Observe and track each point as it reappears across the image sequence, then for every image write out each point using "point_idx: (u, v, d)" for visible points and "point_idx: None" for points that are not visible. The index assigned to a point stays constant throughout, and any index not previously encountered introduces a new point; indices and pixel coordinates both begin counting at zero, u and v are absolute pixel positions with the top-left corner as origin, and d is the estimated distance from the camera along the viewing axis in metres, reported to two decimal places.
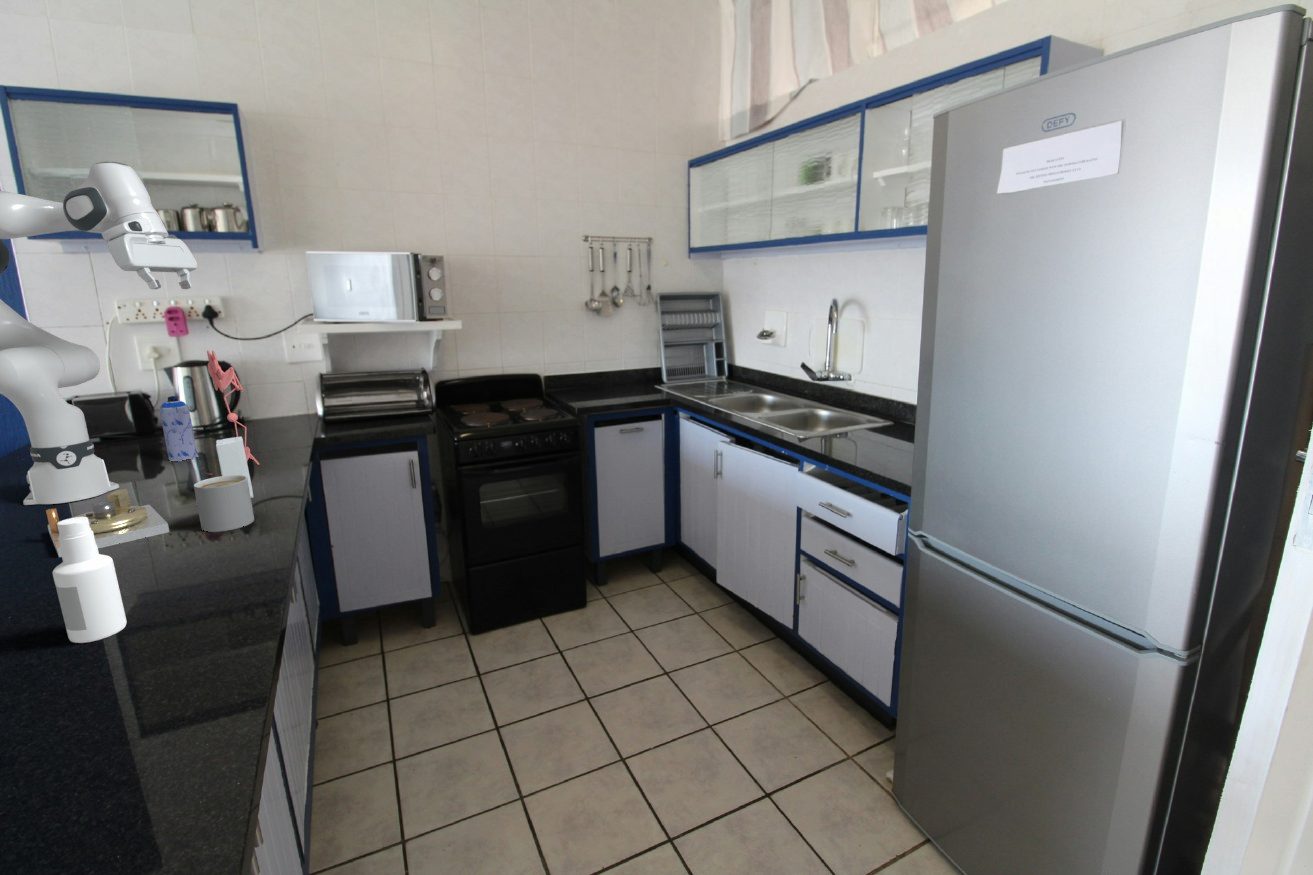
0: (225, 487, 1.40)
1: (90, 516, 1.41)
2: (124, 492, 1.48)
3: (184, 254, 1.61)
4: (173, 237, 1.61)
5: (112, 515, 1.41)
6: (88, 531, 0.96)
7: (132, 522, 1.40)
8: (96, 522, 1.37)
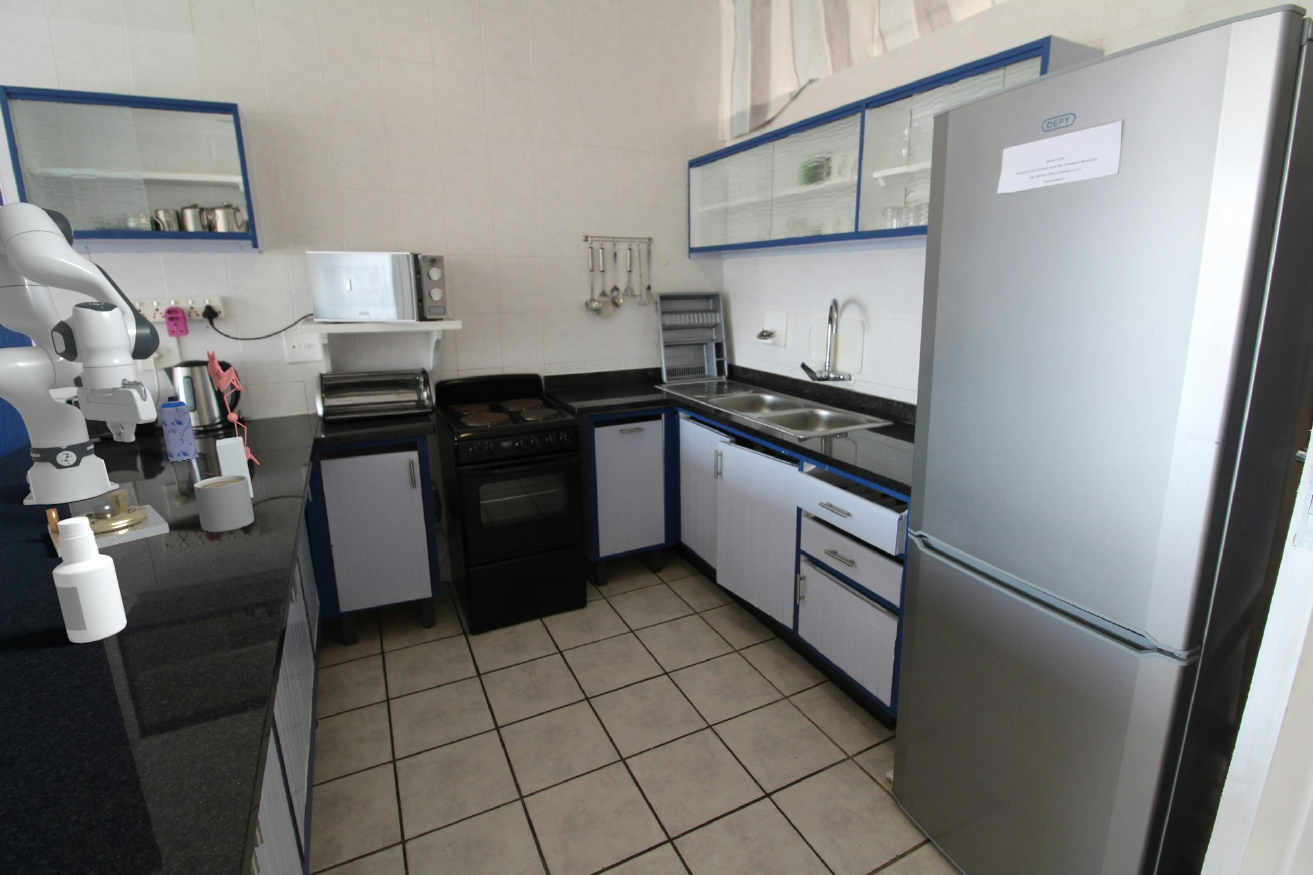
0: (225, 487, 1.40)
1: (90, 516, 1.41)
2: (124, 492, 1.48)
3: (128, 407, 1.38)
4: (133, 384, 1.38)
5: (112, 515, 1.41)
6: (88, 531, 0.96)
7: (132, 522, 1.40)
8: (96, 522, 1.37)
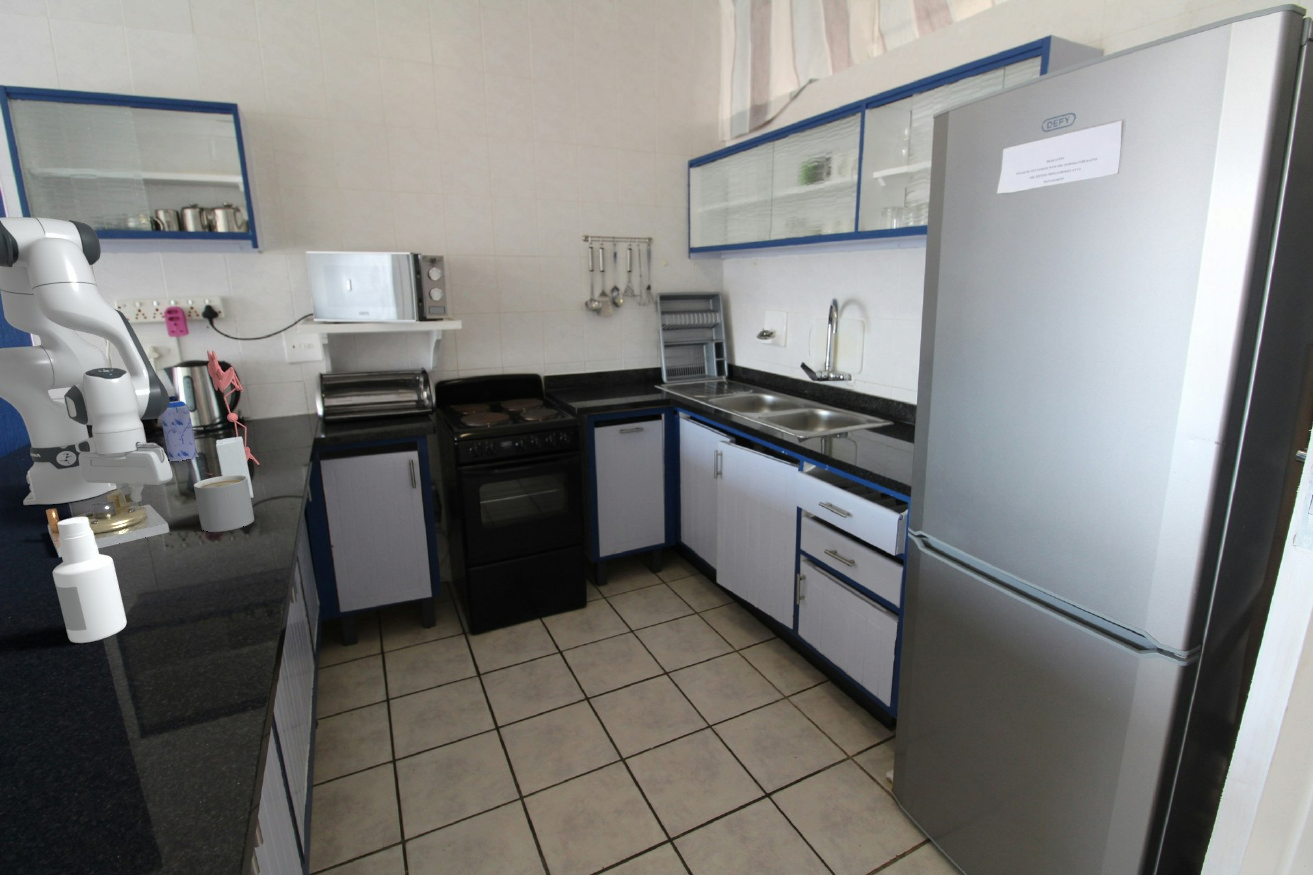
0: (225, 487, 1.40)
1: (90, 516, 1.41)
2: None
3: (145, 470, 1.42)
4: (150, 446, 1.43)
5: (112, 515, 1.41)
6: (88, 531, 0.96)
7: (132, 522, 1.40)
8: (96, 522, 1.37)
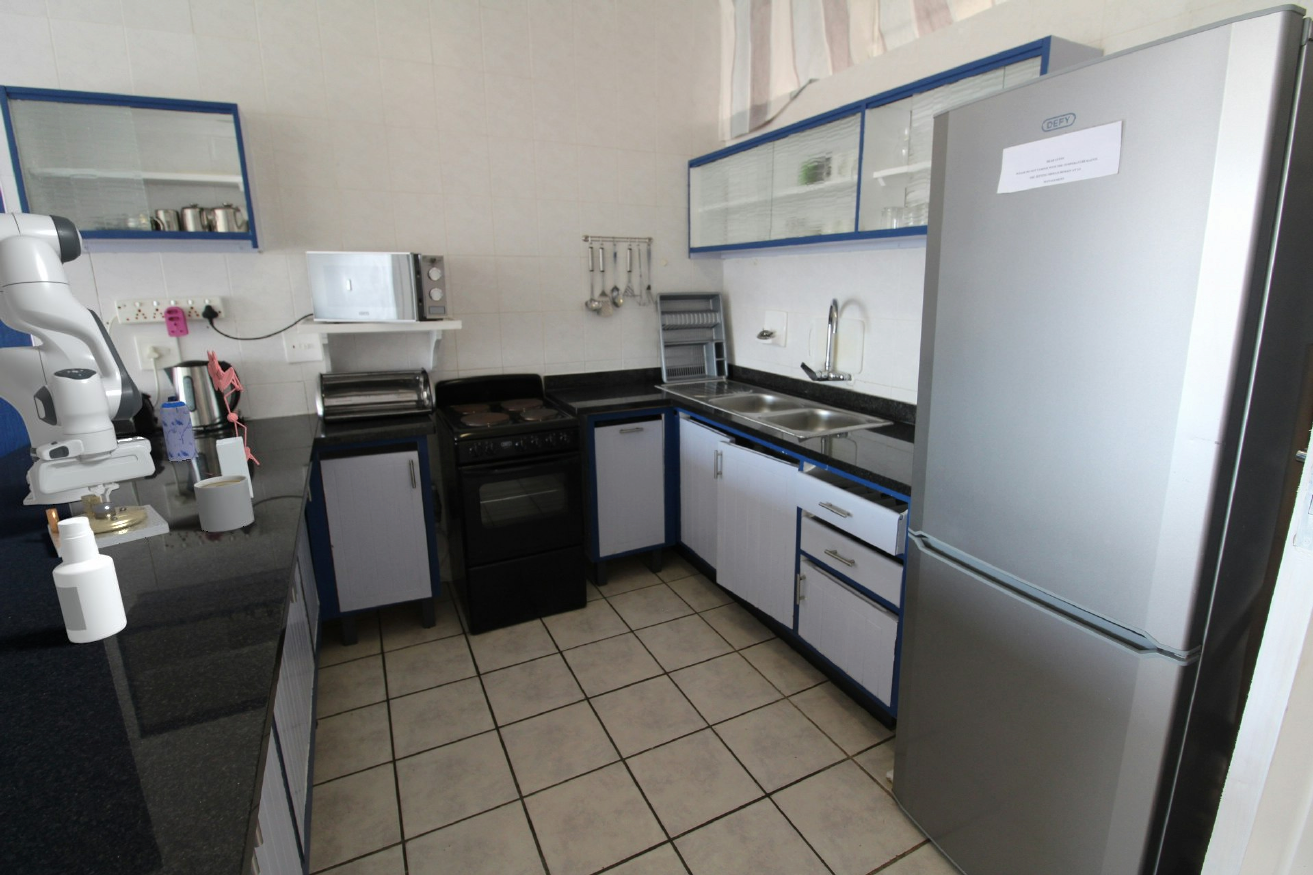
0: (225, 487, 1.40)
1: None
2: None
3: (137, 463, 1.48)
4: (136, 440, 1.49)
5: (116, 513, 1.42)
6: (88, 531, 0.96)
7: (146, 514, 1.45)
8: (117, 518, 1.39)
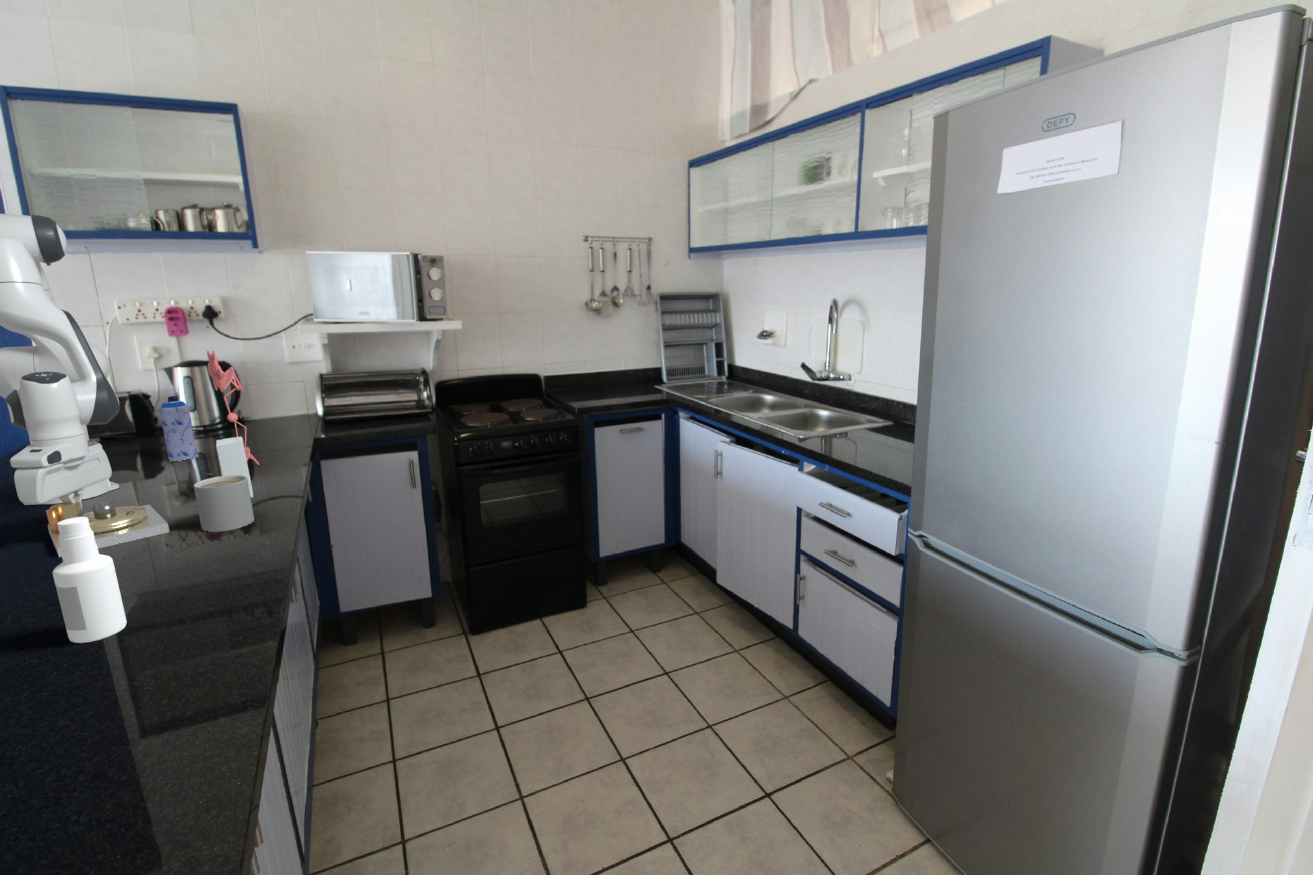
0: (225, 487, 1.40)
1: (92, 521, 1.38)
2: None
3: (100, 466, 1.46)
4: (93, 444, 1.46)
5: None
6: (88, 531, 0.96)
7: None
8: (132, 512, 1.43)
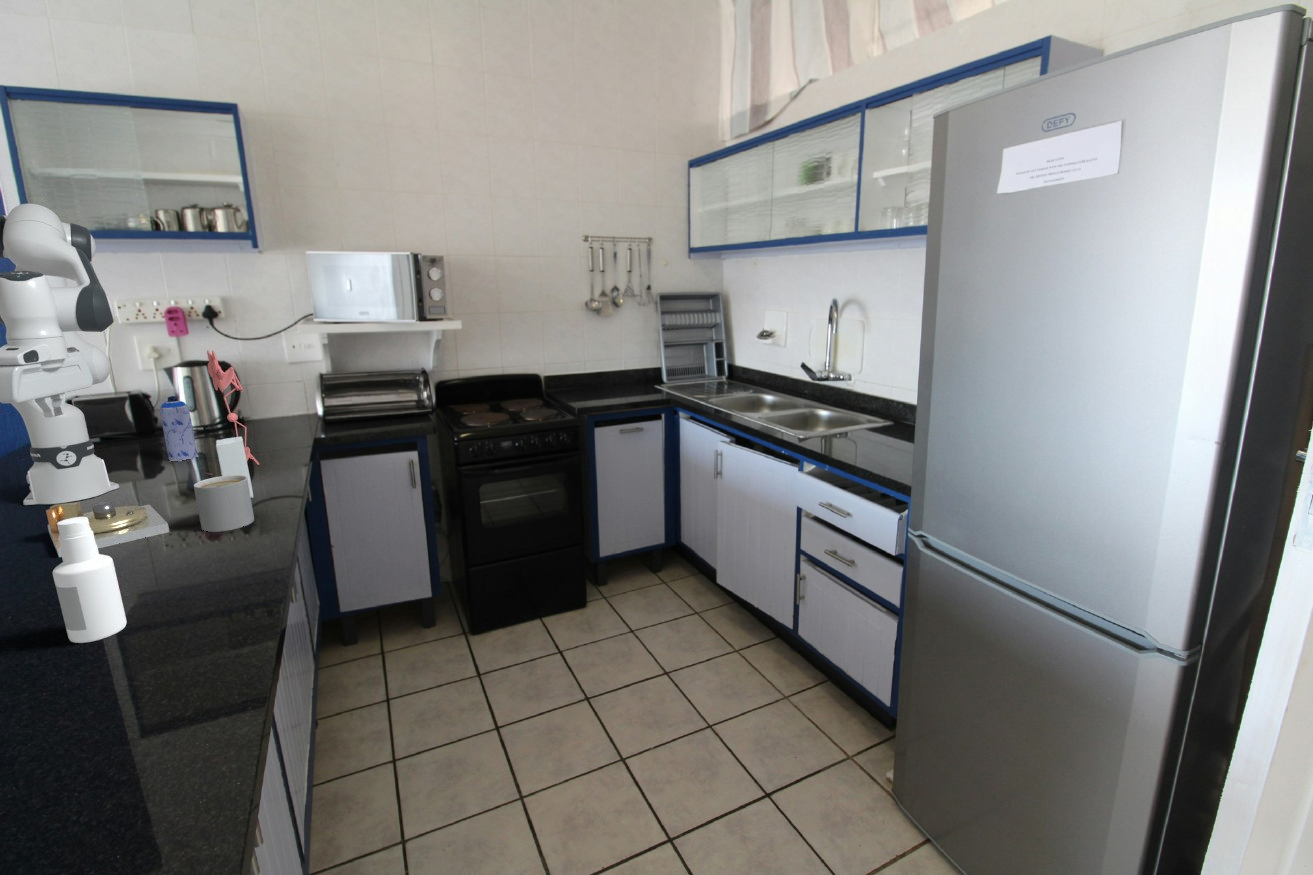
0: (225, 487, 1.40)
1: (92, 521, 1.38)
2: None
3: (80, 373, 1.44)
4: (73, 351, 1.44)
5: None
6: (88, 531, 0.96)
7: None
8: (132, 512, 1.43)
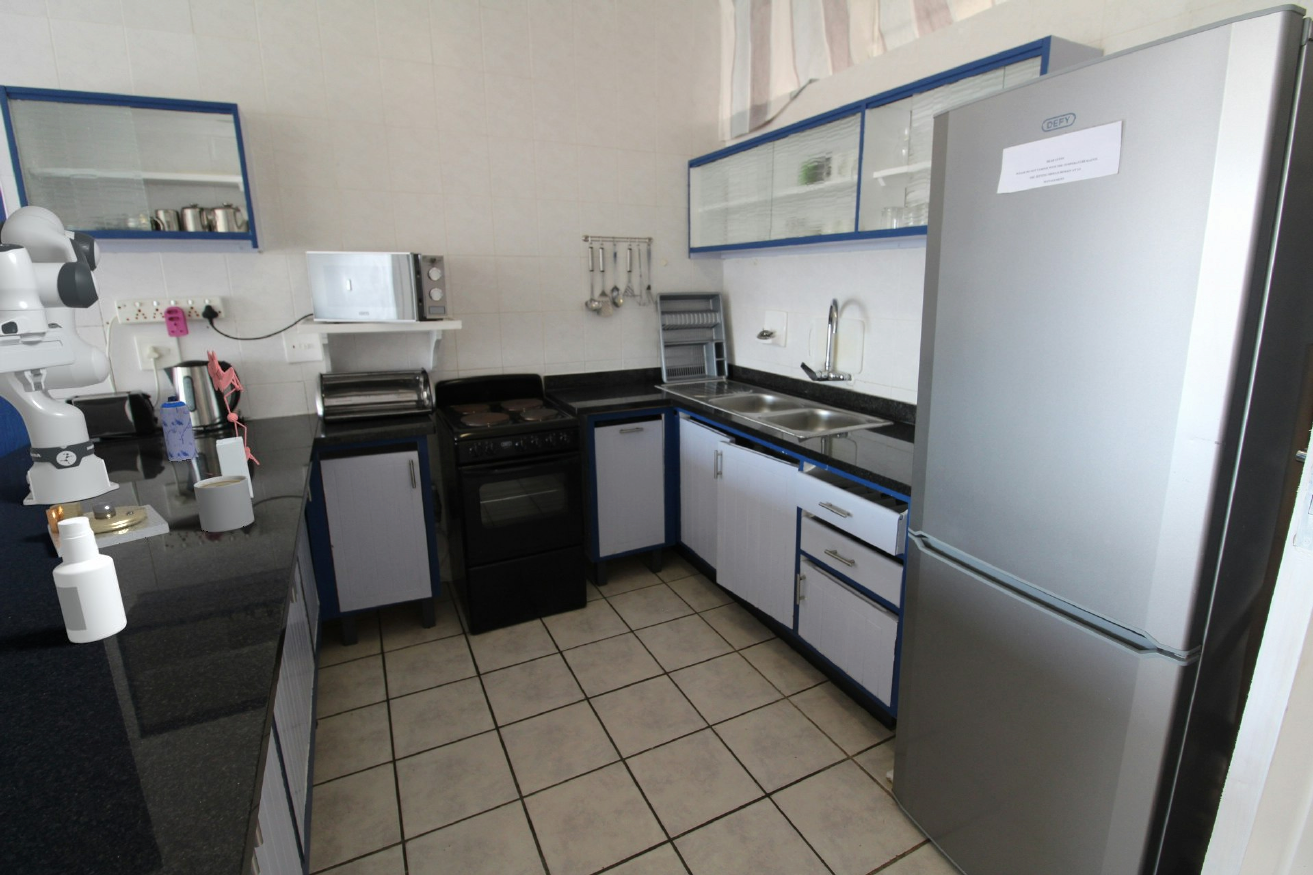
0: (225, 487, 1.40)
1: (92, 521, 1.38)
2: None
3: (62, 349, 1.43)
4: (55, 326, 1.42)
5: None
6: (88, 531, 0.96)
7: None
8: (132, 512, 1.43)
